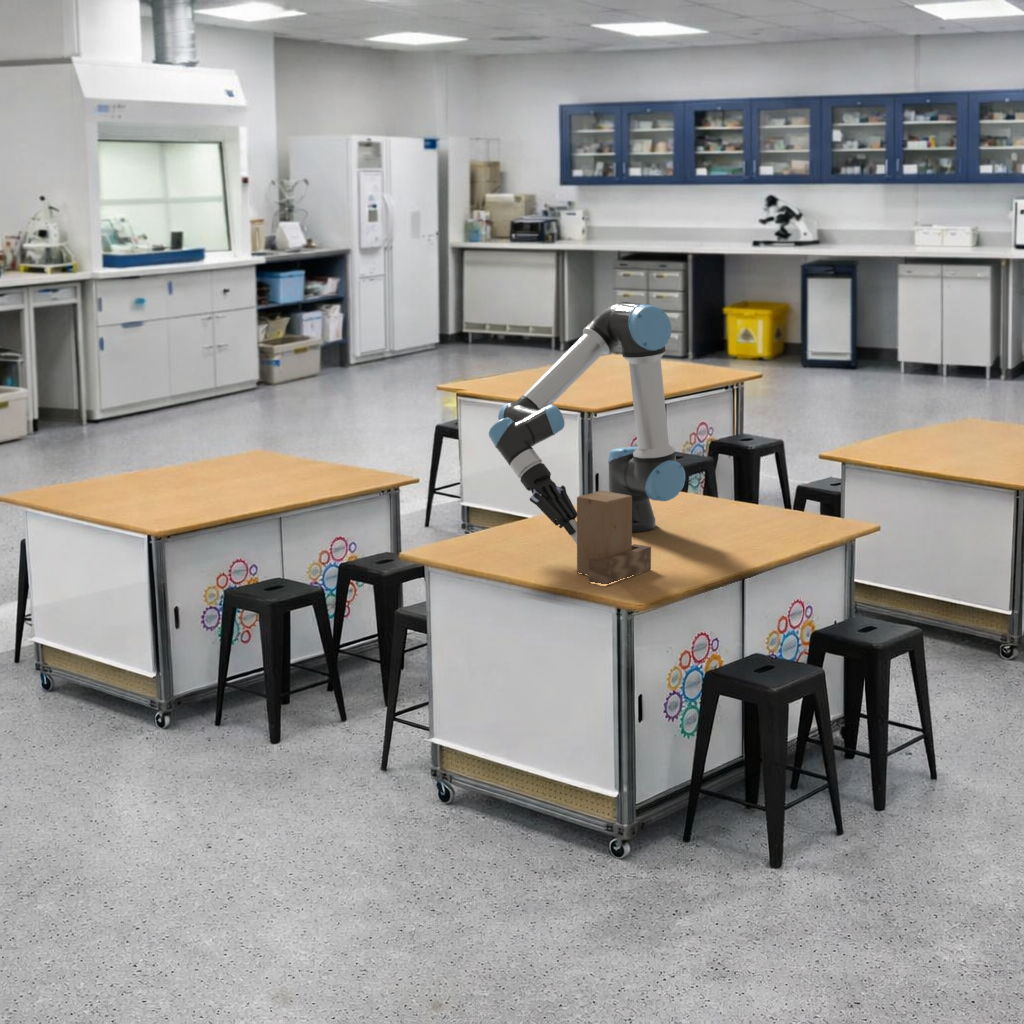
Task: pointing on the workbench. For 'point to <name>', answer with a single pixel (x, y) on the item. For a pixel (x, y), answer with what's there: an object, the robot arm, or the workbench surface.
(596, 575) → the stop rail
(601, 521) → the wooden block
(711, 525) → the workbench surface
